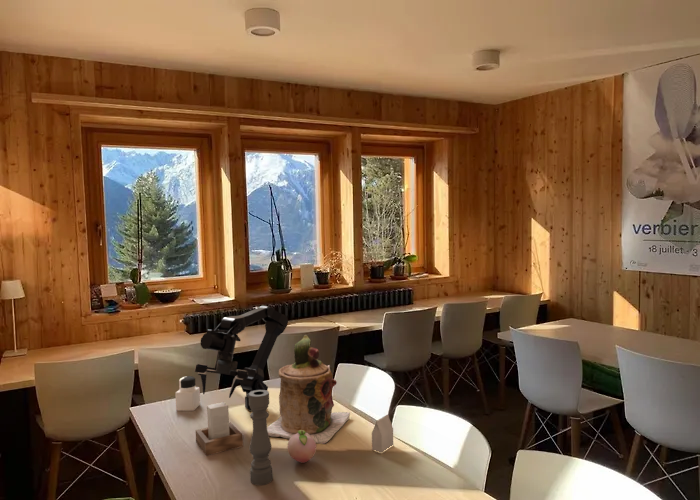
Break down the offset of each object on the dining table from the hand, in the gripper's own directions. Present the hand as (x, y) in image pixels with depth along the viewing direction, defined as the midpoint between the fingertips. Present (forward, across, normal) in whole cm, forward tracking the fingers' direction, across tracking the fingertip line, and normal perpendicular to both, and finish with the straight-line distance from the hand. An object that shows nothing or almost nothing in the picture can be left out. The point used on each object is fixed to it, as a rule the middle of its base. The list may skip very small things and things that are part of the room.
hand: (216, 395), depth 193 cm
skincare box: (+13, +2, -15) cm, 20 cm away
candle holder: (+17, +14, -43) cm, 48 cm away
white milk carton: (+6, +51, -36) cm, 63 cm away
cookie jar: (+5, +32, -11) cm, 35 cm away
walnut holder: (+14, +3, -15) cm, 20 cm away
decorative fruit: (+13, +26, -37) cm, 47 cm away
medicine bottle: (+8, -8, +23) cm, 26 cm away
